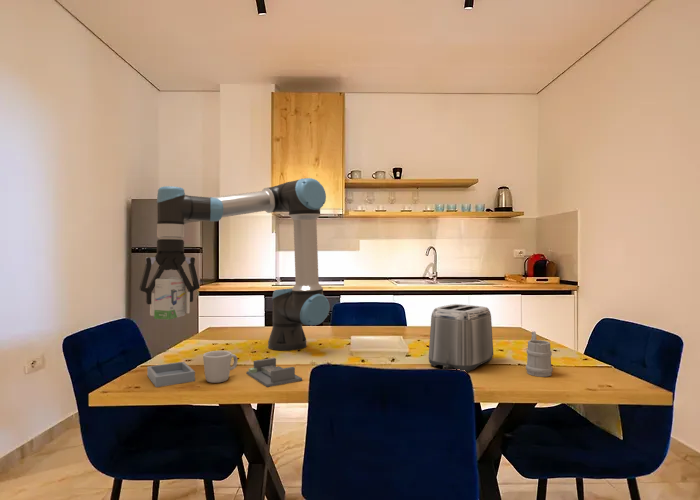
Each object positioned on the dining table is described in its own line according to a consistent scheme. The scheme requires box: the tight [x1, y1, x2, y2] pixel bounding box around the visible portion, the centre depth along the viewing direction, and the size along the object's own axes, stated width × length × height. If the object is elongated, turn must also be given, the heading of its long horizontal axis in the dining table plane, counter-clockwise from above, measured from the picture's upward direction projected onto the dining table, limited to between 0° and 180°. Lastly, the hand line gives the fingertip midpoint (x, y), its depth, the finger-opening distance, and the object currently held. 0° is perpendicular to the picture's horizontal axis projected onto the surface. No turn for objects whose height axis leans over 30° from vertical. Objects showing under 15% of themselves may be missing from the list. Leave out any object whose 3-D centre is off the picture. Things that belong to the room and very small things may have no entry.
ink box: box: [153, 276, 187, 320], centre depth 131 cm, size 9×5×12 cm, turn 168°
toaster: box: [428, 303, 495, 373], centre depth 148 cm, size 17×30×19 cm, turn 140°
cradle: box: [246, 357, 303, 388], centre depth 132 cm, size 11×16×4 cm
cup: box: [202, 350, 238, 384], centre depth 130 cm, size 11×8×8 cm
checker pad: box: [261, 365, 279, 377], centre depth 132 cm, size 4×10×1 cm, turn 34°
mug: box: [525, 330, 554, 378], centre depth 138 cm, size 8×12×12 cm, turn 172°
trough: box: [146, 361, 196, 388], centre depth 131 cm, size 11×14×3 cm
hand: (170, 314), depth 131 cm, fingers closed on ink box, 9 cm apart
